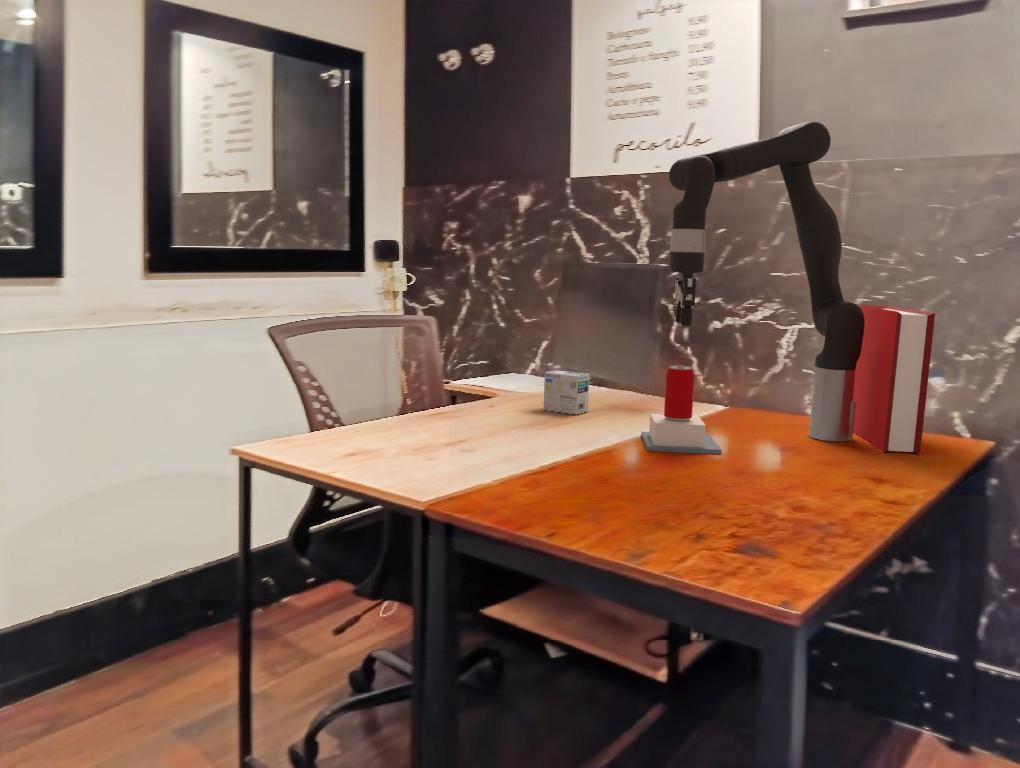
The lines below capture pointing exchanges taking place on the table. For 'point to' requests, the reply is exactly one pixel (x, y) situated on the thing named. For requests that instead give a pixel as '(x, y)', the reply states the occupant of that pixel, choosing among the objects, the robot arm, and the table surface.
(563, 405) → the light bulb box
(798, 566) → the table surface
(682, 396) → the beverage can
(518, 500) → the table surface
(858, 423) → the book
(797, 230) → the robot arm
